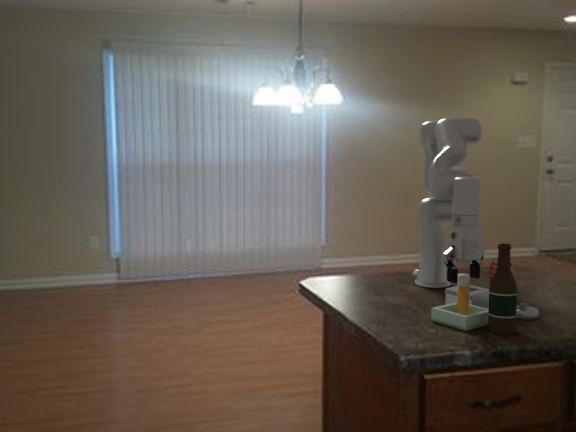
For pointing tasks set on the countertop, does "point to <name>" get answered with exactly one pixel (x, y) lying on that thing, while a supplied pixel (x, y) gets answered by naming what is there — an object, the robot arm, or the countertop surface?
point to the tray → (460, 316)
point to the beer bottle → (502, 295)
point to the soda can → (494, 267)
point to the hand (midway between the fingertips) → (463, 280)
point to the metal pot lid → (526, 312)
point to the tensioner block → (476, 296)
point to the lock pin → (463, 294)
